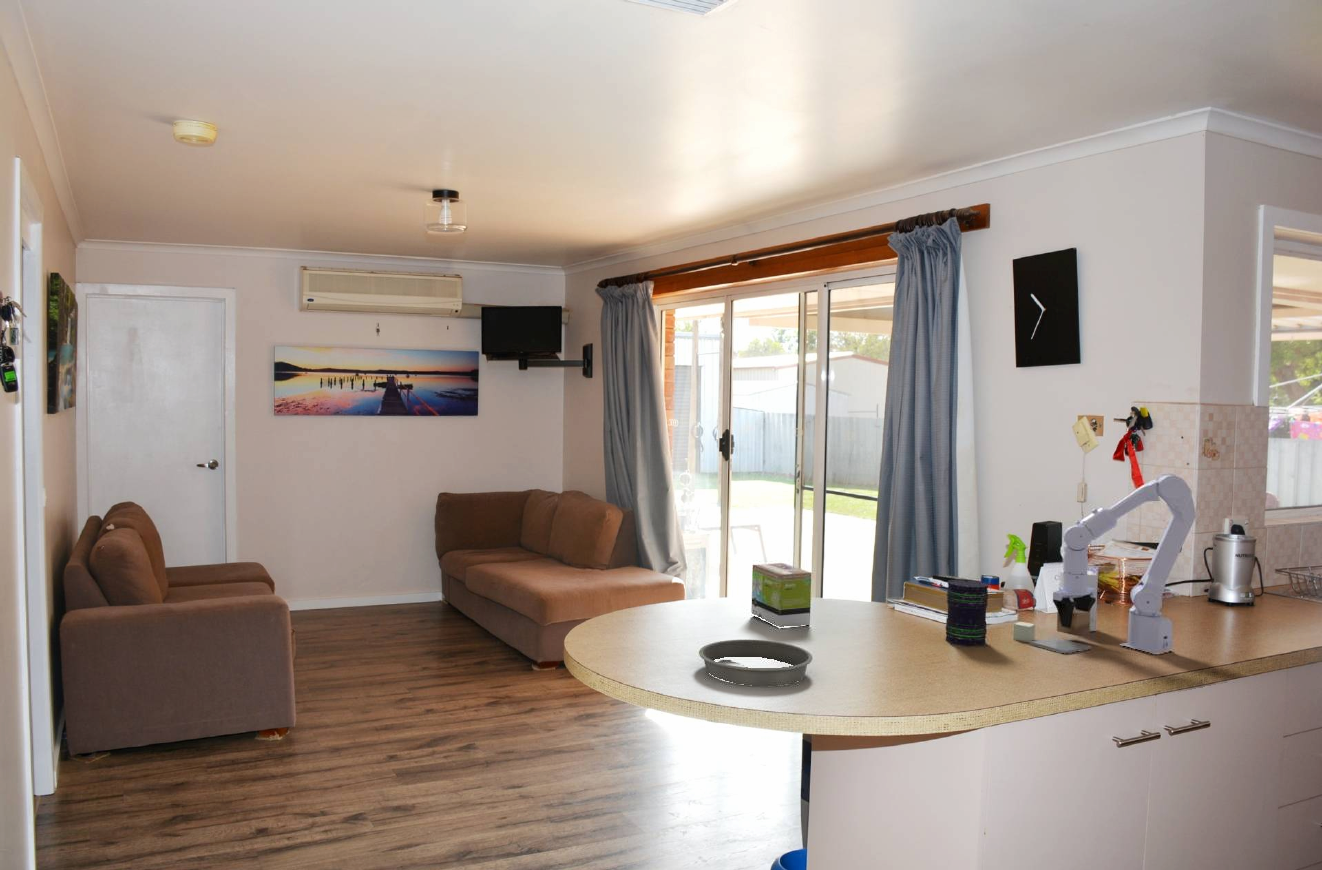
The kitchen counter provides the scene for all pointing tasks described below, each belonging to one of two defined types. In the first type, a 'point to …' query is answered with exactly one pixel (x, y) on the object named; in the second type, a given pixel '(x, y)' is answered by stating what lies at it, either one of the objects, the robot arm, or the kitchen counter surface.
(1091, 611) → the skincare box
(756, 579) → the tea box
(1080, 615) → the walnut block
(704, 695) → the kitchen counter surface
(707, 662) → the cake pan
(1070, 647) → the coaster
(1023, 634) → the sage block
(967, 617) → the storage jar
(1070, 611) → the robot arm
